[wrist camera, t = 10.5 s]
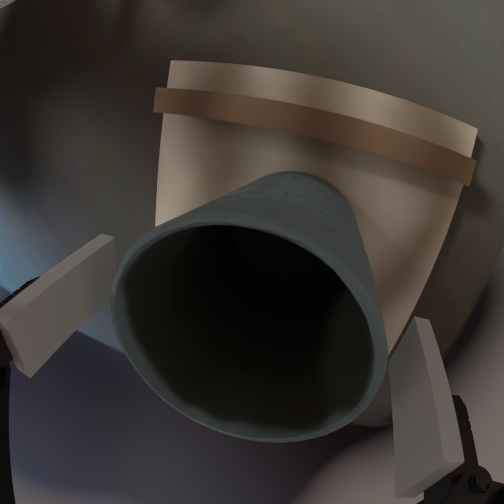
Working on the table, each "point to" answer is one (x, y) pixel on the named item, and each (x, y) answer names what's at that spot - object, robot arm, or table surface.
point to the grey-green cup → (256, 311)
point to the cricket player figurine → (5, 3)
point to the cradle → (320, 160)
